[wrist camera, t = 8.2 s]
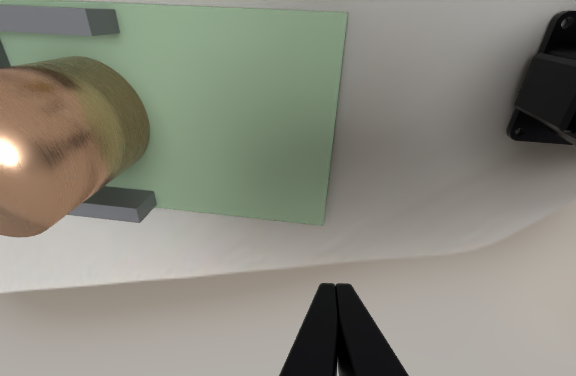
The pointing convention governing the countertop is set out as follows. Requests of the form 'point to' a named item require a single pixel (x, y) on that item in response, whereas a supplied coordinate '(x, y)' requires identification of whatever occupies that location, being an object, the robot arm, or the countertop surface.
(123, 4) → the green
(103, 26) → the shallow gray tray
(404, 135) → the countertop surface
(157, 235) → the countertop surface
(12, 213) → the copper metal cylinder
